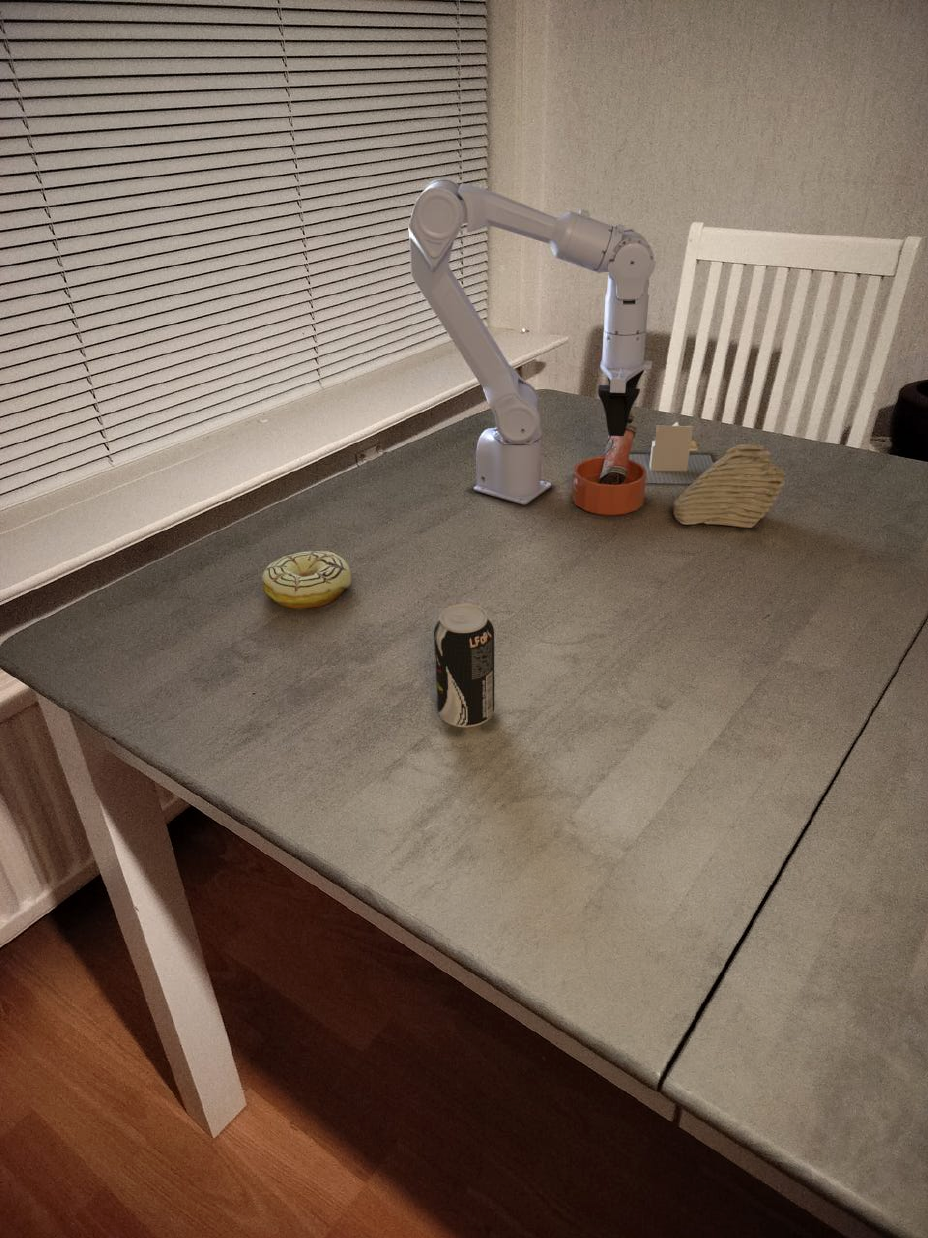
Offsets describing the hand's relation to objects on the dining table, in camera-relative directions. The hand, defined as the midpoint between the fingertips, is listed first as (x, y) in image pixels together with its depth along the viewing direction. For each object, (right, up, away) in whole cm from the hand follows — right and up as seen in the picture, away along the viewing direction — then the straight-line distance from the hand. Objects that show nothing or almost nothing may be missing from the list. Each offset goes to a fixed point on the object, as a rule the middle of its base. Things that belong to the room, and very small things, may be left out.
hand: (618, 425), depth 120 cm
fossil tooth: (+15, -14, -3) cm, 21 cm away
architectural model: (+10, -4, +12) cm, 16 cm away
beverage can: (-22, -38, -36) cm, 57 cm away
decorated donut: (-42, -25, -16) cm, 51 cm away
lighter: (-1, -8, +1) cm, 8 cm away
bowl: (-1, -11, +3) cm, 11 cm away
